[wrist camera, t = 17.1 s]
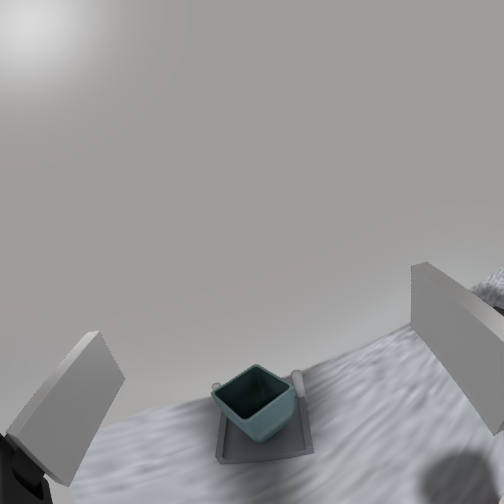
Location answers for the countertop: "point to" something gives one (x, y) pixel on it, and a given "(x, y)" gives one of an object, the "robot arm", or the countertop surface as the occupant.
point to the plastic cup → (501, 500)
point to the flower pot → (257, 402)
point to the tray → (276, 447)
